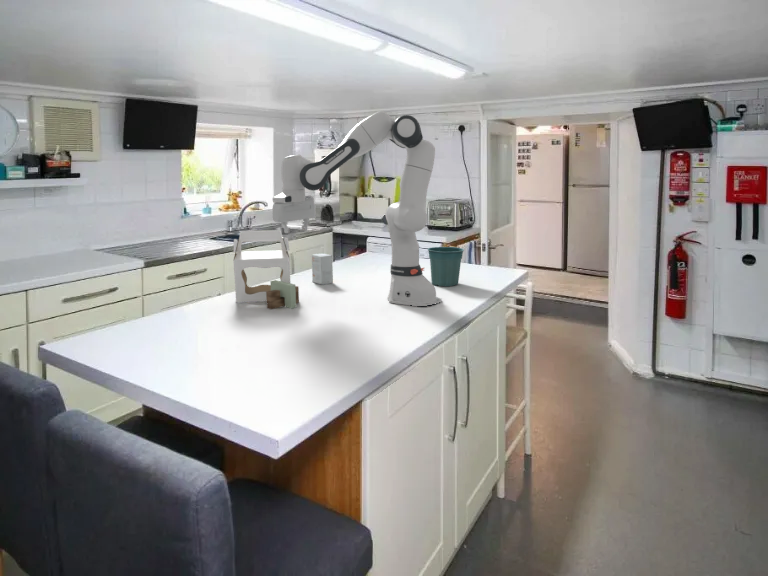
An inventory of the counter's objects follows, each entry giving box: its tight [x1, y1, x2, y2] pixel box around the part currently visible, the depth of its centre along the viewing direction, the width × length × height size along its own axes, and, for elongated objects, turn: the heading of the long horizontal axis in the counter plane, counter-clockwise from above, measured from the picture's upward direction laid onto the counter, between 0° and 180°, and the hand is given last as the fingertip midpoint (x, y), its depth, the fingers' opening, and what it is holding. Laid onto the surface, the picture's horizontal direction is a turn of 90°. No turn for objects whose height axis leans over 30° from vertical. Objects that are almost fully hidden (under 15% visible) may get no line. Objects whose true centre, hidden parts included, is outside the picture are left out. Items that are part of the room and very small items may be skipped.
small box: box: [311, 253, 334, 285], centre depth 267 cm, size 8×6×13 cm
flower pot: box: [427, 246, 465, 287], centre depth 263 cm, size 16×16×16 cm
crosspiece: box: [270, 279, 297, 309], centre depth 227 cm, size 12×2×9 cm, turn 49°
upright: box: [266, 285, 300, 310], centre depth 227 cm, size 14×2×6 cm, turn 139°
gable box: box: [233, 229, 291, 303], centre depth 237 cm, size 22×13×28 cm, turn 101°
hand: (296, 231), depth 233 cm, fingers open, 8 cm apart
